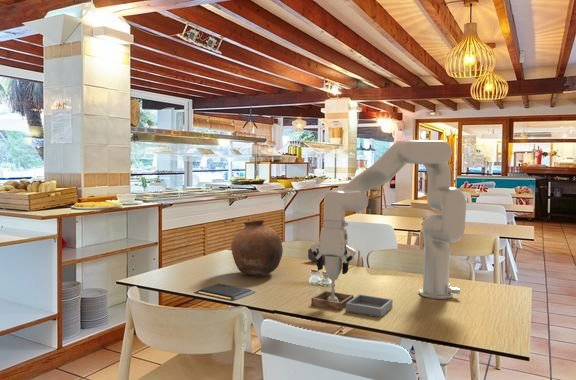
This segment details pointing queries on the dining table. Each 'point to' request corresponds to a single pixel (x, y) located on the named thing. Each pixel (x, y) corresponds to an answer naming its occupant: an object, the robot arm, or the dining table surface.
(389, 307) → the parts tray
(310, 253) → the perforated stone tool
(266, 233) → the pottery
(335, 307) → the tray
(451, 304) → the dining table surface
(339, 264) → the chalice
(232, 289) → the dark grey book
